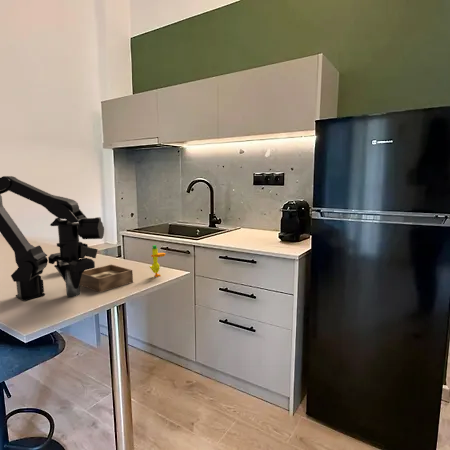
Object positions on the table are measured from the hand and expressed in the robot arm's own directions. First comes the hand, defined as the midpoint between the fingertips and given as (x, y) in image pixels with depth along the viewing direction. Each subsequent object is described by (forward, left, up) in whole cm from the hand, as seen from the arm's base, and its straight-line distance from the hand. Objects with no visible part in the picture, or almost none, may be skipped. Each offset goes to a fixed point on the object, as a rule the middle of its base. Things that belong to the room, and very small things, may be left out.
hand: (72, 287), depth 106 cm
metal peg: (0, 0, -2) cm, 2 cm away
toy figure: (+30, -6, -3) cm, 31 cm away
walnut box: (+13, +2, -2) cm, 13 cm away
